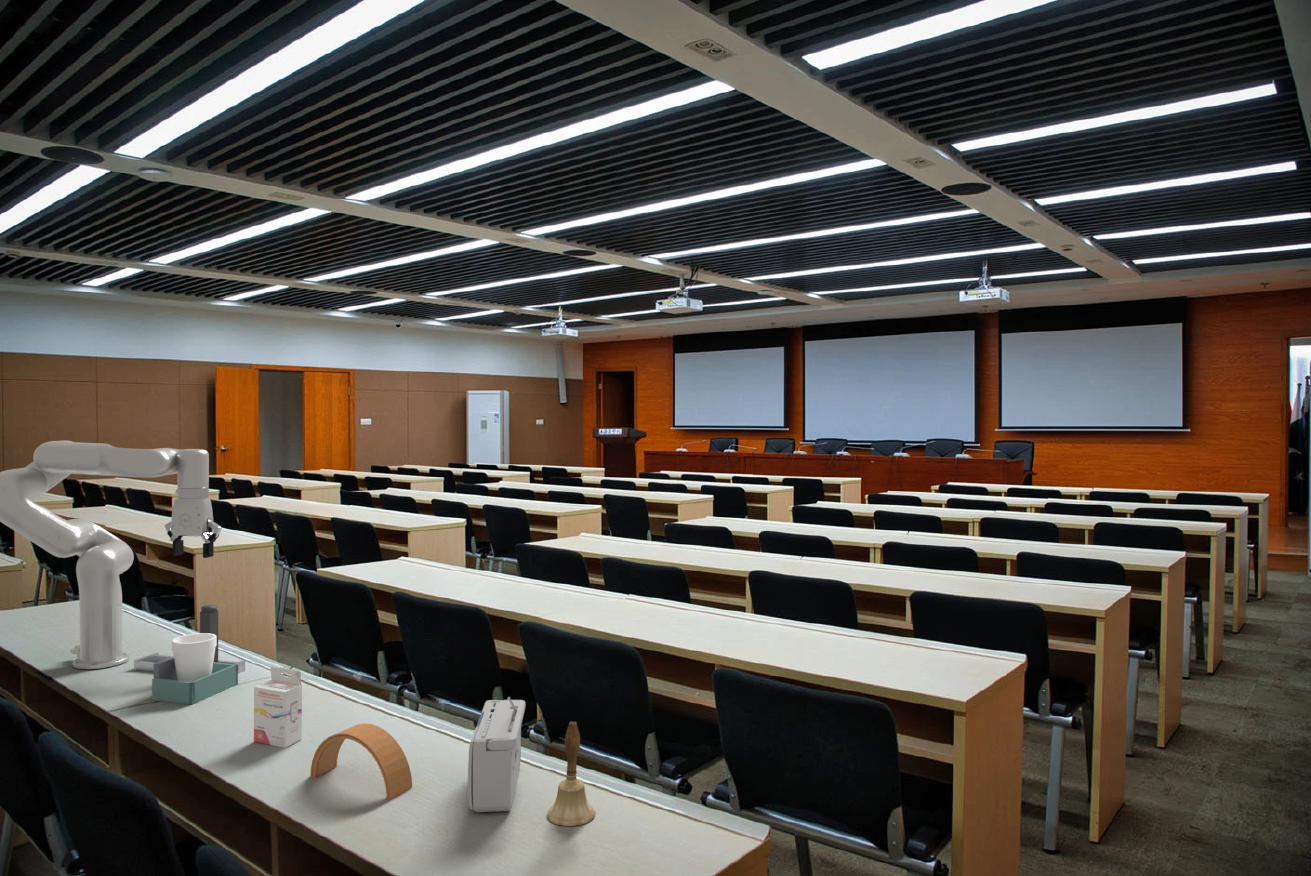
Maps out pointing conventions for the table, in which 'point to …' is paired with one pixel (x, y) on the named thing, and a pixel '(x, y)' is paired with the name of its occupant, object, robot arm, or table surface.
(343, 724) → the table surface
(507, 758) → the stereo radio cassette player
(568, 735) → the hand bell
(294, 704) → the ink cartridge box
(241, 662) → the striker rails
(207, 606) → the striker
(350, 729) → the arch
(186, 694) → the box
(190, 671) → the foam cup
